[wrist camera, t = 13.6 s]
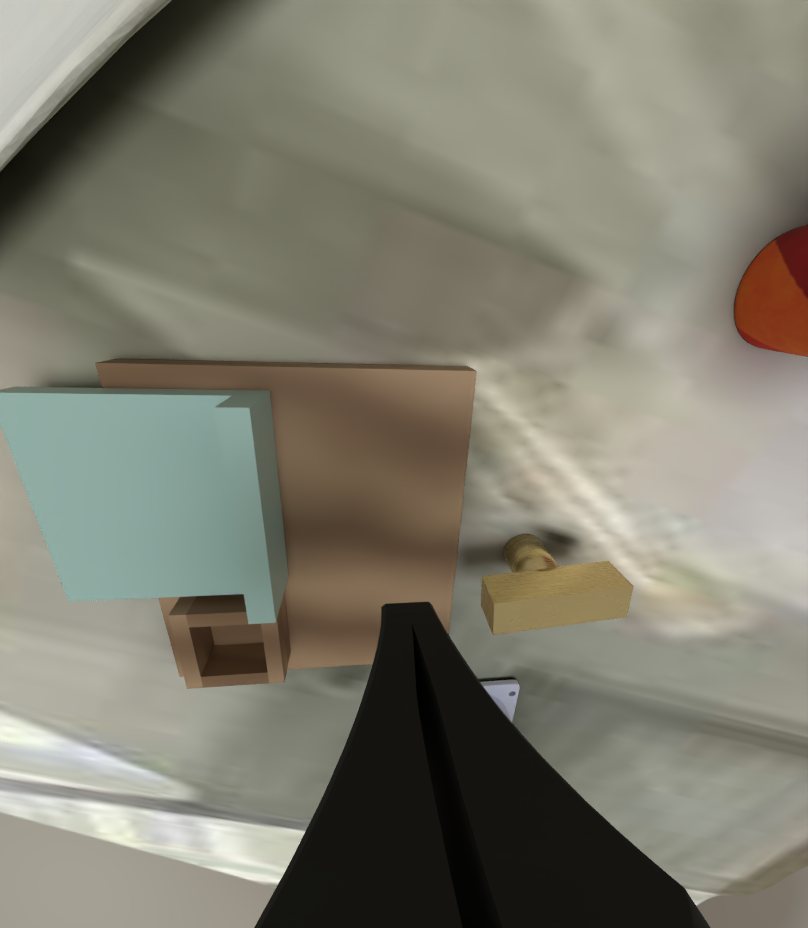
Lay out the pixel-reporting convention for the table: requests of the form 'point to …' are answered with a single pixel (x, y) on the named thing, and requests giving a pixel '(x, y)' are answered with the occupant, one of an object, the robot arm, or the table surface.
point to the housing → (332, 509)
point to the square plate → (56, 56)
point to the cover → (153, 491)
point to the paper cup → (776, 296)
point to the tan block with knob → (550, 591)
